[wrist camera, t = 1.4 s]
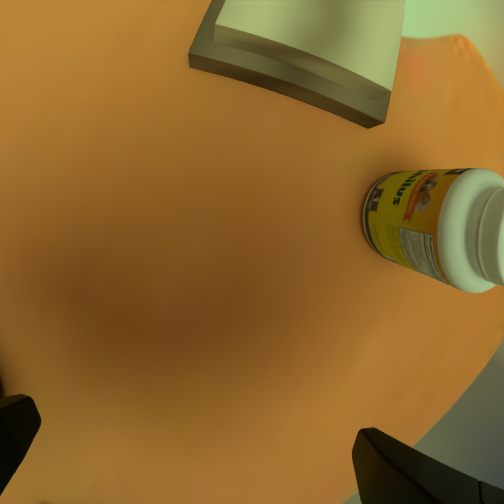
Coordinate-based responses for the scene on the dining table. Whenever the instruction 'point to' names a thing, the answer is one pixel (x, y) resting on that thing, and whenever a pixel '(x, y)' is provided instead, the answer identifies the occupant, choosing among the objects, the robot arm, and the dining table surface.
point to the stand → (307, 50)
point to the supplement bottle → (441, 224)
